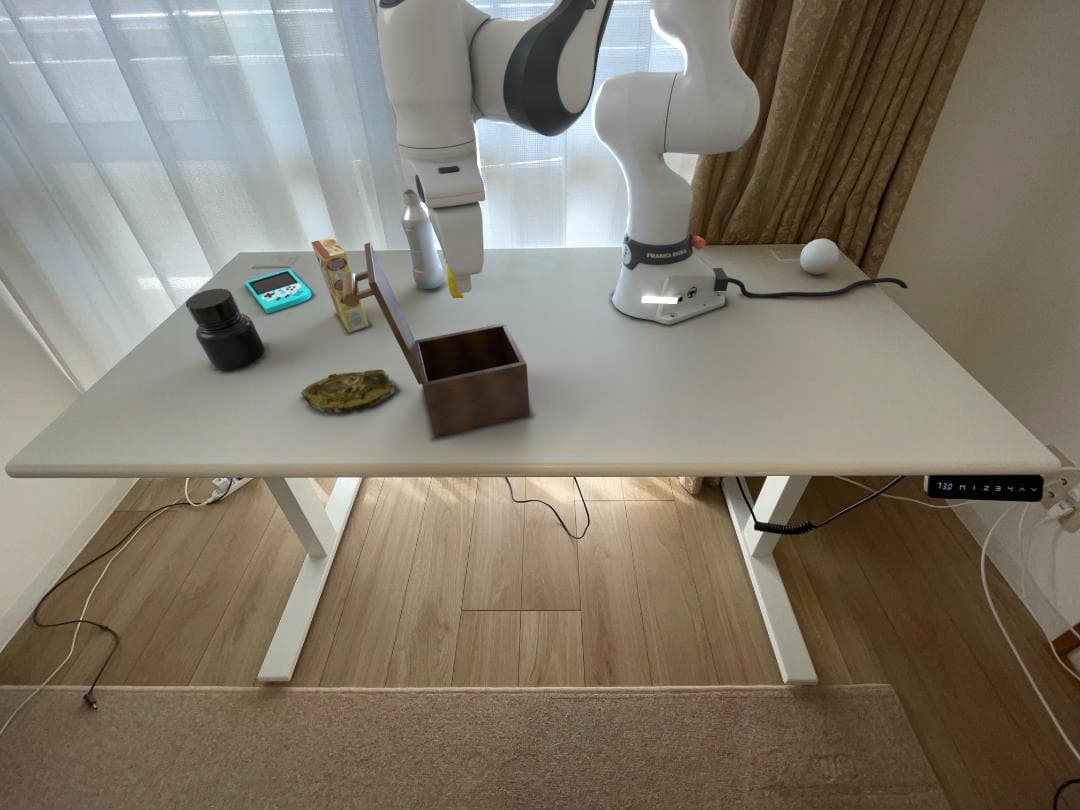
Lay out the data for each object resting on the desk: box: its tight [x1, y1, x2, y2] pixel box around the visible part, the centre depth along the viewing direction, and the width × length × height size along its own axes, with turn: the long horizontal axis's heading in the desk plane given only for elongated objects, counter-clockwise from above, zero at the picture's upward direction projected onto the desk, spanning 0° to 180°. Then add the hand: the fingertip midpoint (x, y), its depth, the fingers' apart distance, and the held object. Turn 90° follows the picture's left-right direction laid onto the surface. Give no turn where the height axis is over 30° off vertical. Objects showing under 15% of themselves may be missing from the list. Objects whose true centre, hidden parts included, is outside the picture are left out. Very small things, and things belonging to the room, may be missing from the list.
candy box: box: [311, 236, 369, 333], centre depth 93 cm, size 9×4×15 cm, turn 33°
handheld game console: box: [245, 268, 312, 314], centre depth 107 cm, size 10×16×1 cm, turn 39°
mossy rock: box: [301, 369, 396, 414], centre depth 79 cm, size 9×5×15 cm
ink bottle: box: [185, 288, 266, 371], centre depth 85 cm, size 10×9×12 cm
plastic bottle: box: [400, 188, 445, 290], centre depth 101 cm, size 6×7×20 cm
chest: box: [415, 322, 531, 438], centre depth 74 cm, size 15×12×10 cm
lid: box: [343, 242, 424, 385], centre depth 64 cm, size 15×12×5 cm
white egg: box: [799, 238, 840, 275], centre depth 106 cm, size 10×7×7 cm
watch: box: [442, 252, 465, 299], centre depth 65 cm, size 6×3×6 cm, turn 0°
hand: (458, 277), depth 65 cm, fingers closed on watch, 6 cm apart
